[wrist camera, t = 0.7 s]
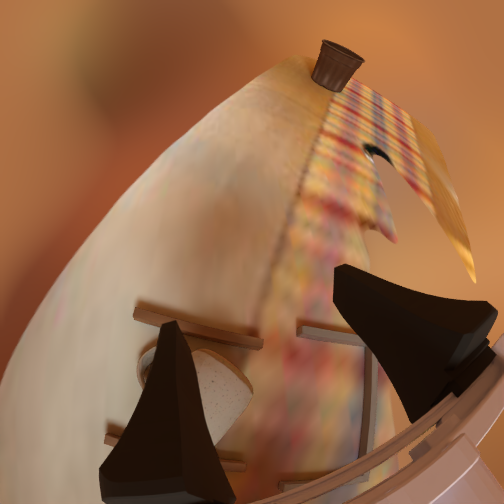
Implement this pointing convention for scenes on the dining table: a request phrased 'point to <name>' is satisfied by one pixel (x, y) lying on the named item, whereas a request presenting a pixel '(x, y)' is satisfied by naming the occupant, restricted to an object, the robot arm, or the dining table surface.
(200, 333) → the walnut dock
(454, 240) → the dining table surface
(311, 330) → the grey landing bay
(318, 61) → the plant pot
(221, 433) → the speckled coffee cup
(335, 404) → the dining table surface
